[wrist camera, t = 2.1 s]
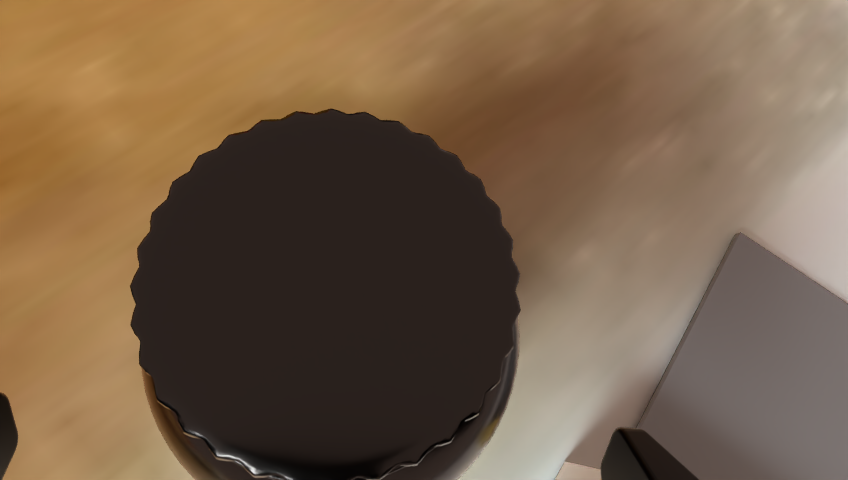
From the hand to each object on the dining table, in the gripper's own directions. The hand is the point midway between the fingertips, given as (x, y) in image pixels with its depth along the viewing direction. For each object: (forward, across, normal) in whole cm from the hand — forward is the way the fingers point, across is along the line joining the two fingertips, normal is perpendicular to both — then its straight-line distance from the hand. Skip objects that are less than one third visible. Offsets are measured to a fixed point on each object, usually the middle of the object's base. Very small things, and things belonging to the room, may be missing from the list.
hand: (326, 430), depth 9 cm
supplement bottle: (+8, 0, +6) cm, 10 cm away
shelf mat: (+7, -16, +7) cm, 19 cm away
